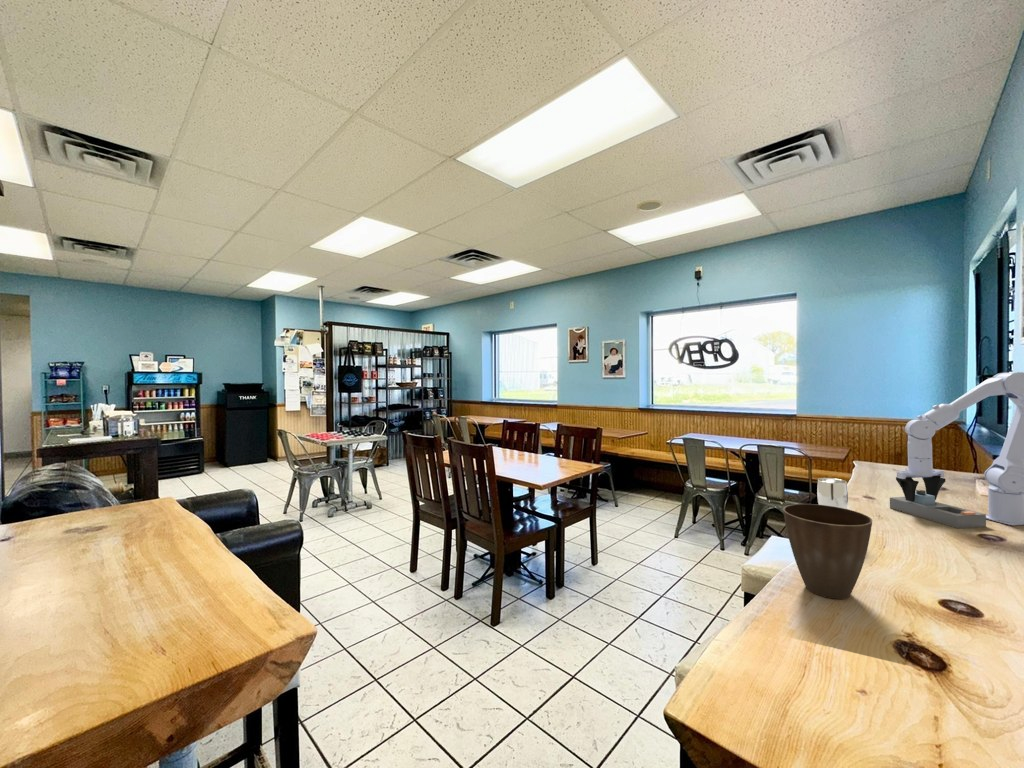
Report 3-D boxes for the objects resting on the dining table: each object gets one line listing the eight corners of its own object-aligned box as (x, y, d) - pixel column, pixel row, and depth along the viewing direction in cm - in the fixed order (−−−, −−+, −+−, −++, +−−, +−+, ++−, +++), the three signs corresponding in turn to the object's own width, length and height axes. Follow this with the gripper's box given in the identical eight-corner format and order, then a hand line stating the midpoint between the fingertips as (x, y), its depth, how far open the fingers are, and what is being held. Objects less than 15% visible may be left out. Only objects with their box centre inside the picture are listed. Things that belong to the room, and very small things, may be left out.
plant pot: (783, 569, 100) (782, 500, 100) (866, 583, 92) (864, 508, 92) (785, 597, 87) (784, 518, 87) (881, 617, 79) (880, 530, 79)
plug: (918, 510, 140) (918, 488, 140) (935, 515, 135) (934, 492, 135) (907, 511, 139) (907, 488, 139) (923, 515, 134) (923, 492, 134)
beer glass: (838, 529, 124) (837, 477, 124) (855, 538, 117) (853, 483, 117) (812, 529, 125) (811, 477, 125) (827, 538, 118) (826, 483, 118)
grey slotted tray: (914, 506, 144) (914, 494, 144) (986, 526, 124) (985, 512, 124) (889, 508, 143) (889, 495, 143) (958, 528, 123) (957, 513, 123)
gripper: (927, 454, 142) (927, 495, 142) (887, 456, 140) (887, 497, 140) (950, 458, 135) (951, 501, 135) (909, 460, 133) (910, 504, 133)
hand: (920, 500), depth 137 cm, fingers open, 7 cm apart
